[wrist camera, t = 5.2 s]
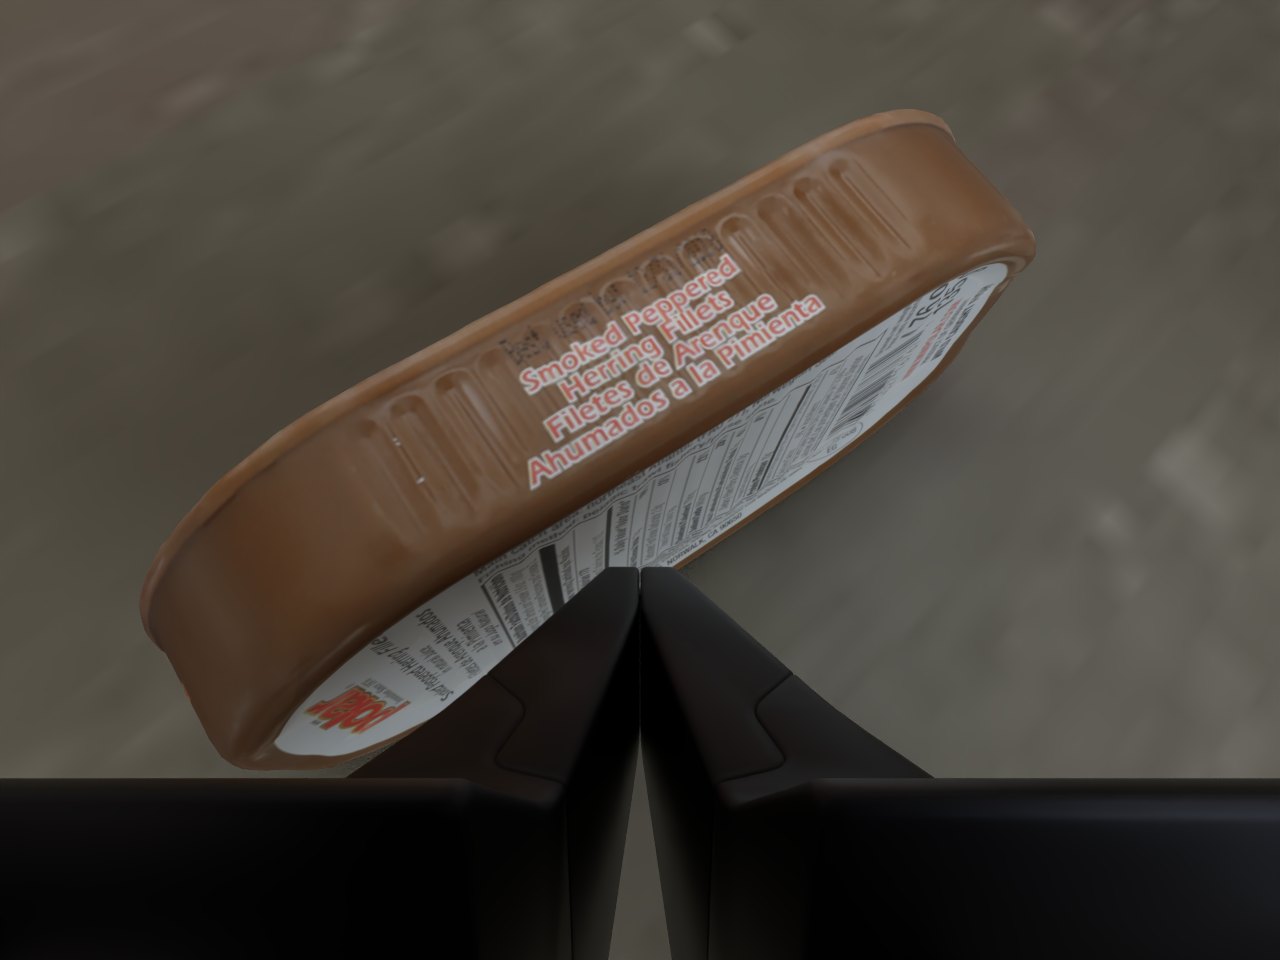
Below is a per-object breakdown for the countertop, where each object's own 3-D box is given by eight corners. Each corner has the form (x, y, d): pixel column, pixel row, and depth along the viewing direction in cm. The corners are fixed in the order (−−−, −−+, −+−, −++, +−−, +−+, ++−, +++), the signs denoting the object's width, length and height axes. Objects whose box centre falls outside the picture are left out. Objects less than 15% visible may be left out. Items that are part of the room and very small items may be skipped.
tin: (868, 315, 21) (1004, -13, 13) (961, 416, 20) (1167, 124, 12) (267, 683, 17) (-27, 533, 10) (341, 828, 16) (77, 789, 9)
